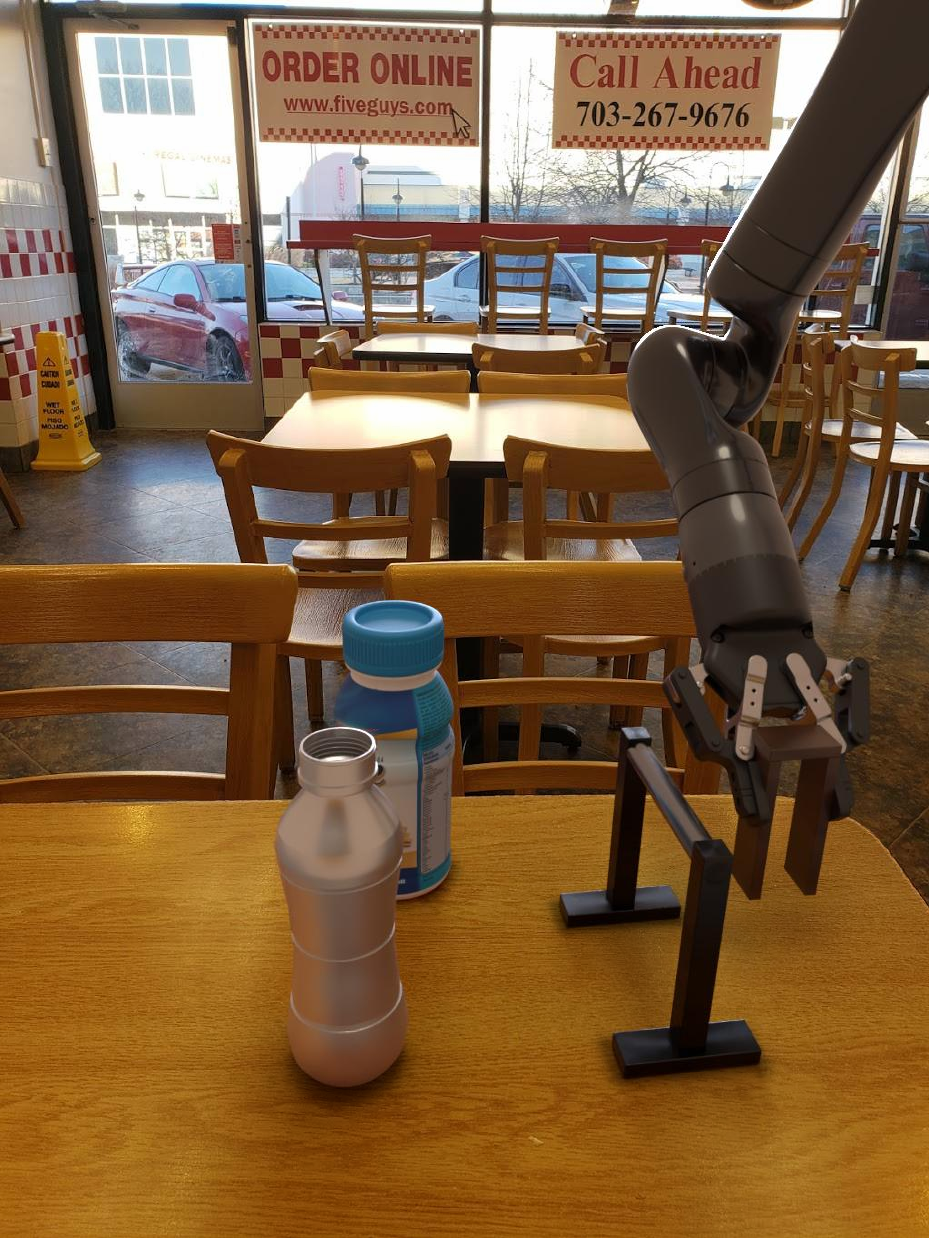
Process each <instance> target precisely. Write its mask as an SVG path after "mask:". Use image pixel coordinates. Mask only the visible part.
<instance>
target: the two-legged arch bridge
mask: <svg viewBox="0 0 929 1238" xmlns="http://www.w3.org/2000/svg"><path fill="white" fill-rule="evenodd" d="M752 733H753V737H754V742H755V753H754V756H753V762H755V761H758V763H759V767H760V772H761V776H762V780H763V785H764V789H765V792H766V796H767V800H768V805H769V809H770V814H771V820H770V822H769V823H767V824H765V825H763V826H761V827H751V828H750V827H748V826H747V824H746V820H745V818H742V819H740V817H739V816H738V817H737V824H736V830H735V839H734V847H733V852H732V854H733V856H734V859H733V866H732V873H731V876H732V877H733V879H734V880H735V882H736V883H737V884H738V886H739V888H740V889H741V890H742V892H743V894H744V895H745V896H746V898H747V899H748V901H760V900H761V899H762V892H763V885H764V879H765V873H766V867H767V866H766V865H767V861H768V859H767V858H768V853H769V847H770V842H771V841H770V840H771V835H772V834H771V833H772V828H773V821H774V814H775V807H776V802H777V801H776V800H777V795H778V789H779V781H780V776H781V769H782V764H783V763H782V762H785V761H787V762H788V761H799V760H800V766H799V772H798V779H797V784H796V791H795V797H794V802H793V803H794V804H793V809H792V815H791V822H790V826H789V834H788V840H787V846H786V852H785V859H784V864H783V865H784V866H783V870H784V871H785V872H786V873H787V875H788V876H789V877H790V879H791V880H792V881H793V882H794V884H795V885H796V886H797V888H798V889H799V890H800V892H801V893H802V895H804V897H807V896H816V895H817V890H818V885H819V879H820V874H821V867H822V862H823V857H824V851H825V846H826V841H827V834H828V829H829V823H830V822H829V817H830V812H831V806H832V801H833V795H834V790H835V785H836V780H837V774H838V769H839V763H840V756H841V752H842V745H841V744H840V743H839V742H838V741H837V740H836V739H834V738H833V737H832V736H831V735H830V734H829V733H828V732H827V731H826V730H825V729H824V728H823V727H822V726H821V725H816V724H801V725H788V724H787V725H785V724H784V725H772V726H771V725H770V726H758V727H757V729H752Z"/></svg>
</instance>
